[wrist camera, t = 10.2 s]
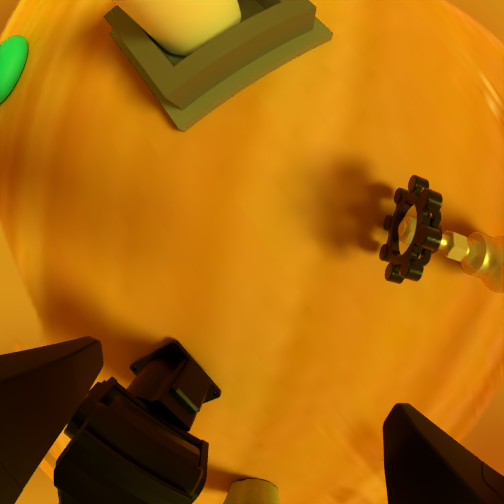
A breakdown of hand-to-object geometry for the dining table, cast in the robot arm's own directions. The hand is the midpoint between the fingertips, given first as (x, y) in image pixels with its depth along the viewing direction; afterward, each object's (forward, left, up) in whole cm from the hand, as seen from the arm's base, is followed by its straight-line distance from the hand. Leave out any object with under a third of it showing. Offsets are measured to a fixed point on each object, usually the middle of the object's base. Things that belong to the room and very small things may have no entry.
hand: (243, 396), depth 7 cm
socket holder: (+7, +18, -13) cm, 23 cm away
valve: (+12, -6, -13) cm, 19 cm away
